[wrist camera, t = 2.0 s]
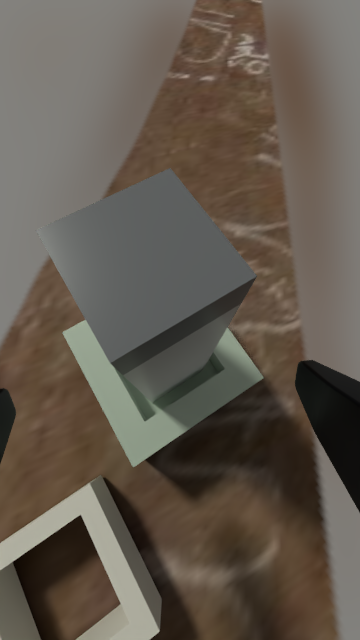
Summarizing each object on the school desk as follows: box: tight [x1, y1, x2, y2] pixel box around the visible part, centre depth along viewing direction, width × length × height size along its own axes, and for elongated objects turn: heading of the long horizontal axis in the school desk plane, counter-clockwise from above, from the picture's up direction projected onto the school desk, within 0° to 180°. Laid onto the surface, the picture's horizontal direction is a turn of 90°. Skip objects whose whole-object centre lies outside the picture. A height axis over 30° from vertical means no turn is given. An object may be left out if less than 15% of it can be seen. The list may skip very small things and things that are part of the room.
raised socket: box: [62, 320, 264, 467], centre depth 18 cm, size 8×8×4 cm
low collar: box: [0, 475, 162, 640], centre depth 14 cm, size 7×7×2 cm
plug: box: [36, 168, 257, 403], centre depth 12 cm, size 4×4×12 cm
